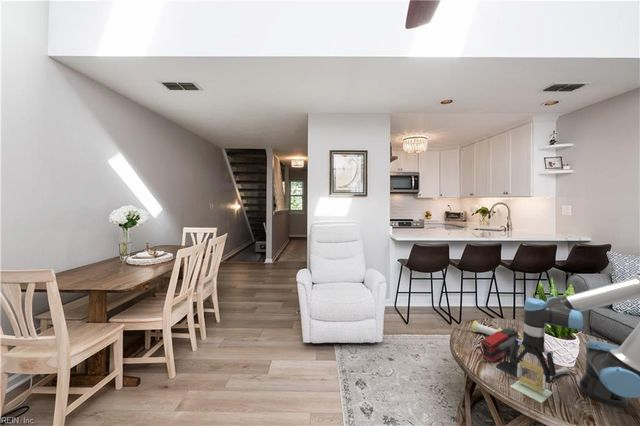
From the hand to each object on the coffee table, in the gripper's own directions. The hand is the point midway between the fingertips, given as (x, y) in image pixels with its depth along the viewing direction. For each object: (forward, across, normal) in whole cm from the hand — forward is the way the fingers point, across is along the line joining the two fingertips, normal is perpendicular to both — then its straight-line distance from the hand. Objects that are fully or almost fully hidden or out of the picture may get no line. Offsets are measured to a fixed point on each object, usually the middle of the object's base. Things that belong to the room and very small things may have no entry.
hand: (531, 381), depth 124 cm
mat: (+4, 0, 0) cm, 4 cm away
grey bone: (+4, -2, -21) cm, 22 cm away
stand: (+4, +12, -5) cm, 14 cm away
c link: (+2, 0, 0) cm, 2 cm away
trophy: (+4, +31, -36) cm, 48 cm away
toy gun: (+4, +21, -17) cm, 27 cm away
